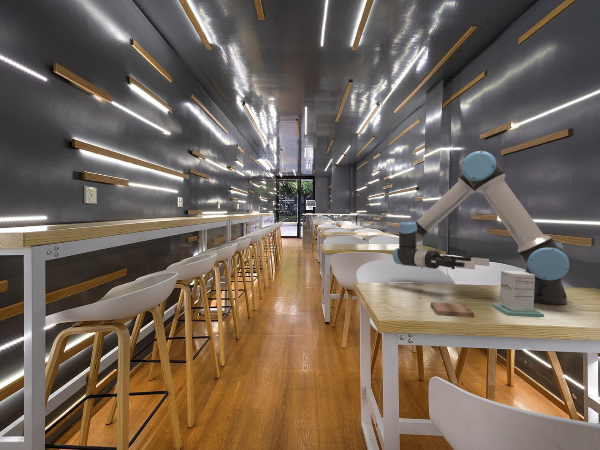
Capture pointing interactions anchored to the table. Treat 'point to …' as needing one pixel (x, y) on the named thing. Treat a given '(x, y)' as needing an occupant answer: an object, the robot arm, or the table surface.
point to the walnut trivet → (451, 309)
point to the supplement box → (517, 290)
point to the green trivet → (517, 312)
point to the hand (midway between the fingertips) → (482, 264)
